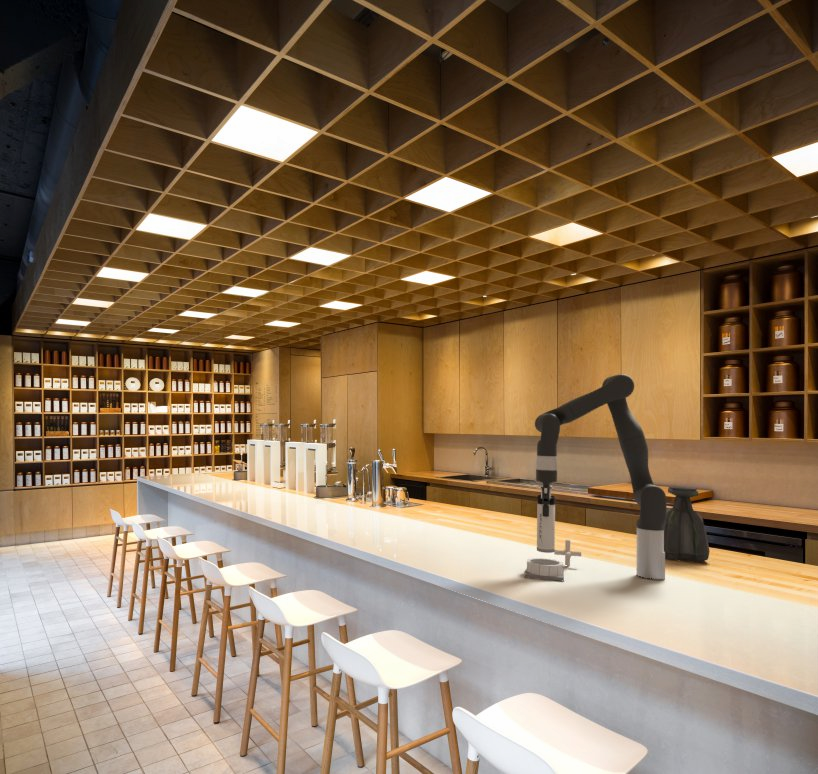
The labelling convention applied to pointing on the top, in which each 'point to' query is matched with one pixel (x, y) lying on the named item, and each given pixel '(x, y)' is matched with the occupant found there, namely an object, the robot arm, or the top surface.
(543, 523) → the travel mug
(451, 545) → the top surface
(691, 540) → the dark grey ribbed vase
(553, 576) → the duct collar
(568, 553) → the pipe connector
